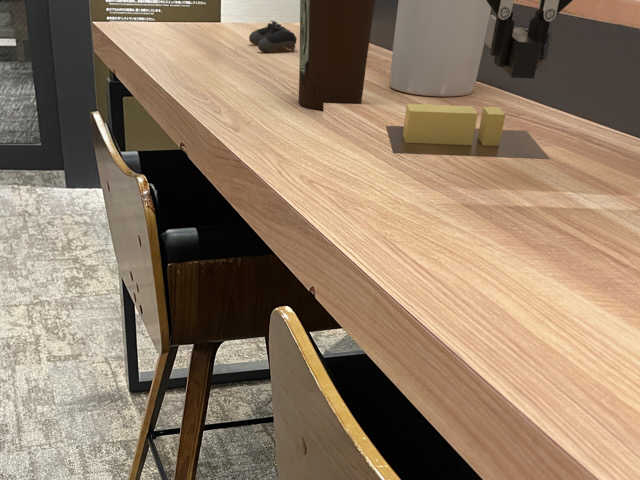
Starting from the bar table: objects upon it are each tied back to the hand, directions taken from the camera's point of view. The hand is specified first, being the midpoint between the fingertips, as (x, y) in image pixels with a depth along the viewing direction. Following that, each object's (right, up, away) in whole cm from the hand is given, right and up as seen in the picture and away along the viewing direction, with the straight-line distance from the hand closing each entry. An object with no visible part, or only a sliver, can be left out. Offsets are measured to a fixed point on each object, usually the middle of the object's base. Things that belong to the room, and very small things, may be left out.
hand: (514, 63), depth 82 cm
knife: (0, +3, +5) cm, 6 cm away
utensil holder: (+4, +25, +51) cm, 57 cm away
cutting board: (0, -1, +18) cm, 18 cm away
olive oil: (-14, +17, +40) cm, 46 cm away
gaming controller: (-21, +50, +82) cm, 98 cm away
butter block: (-4, +1, +18) cm, 18 cm away
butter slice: (+3, 0, +17) cm, 17 cm away
